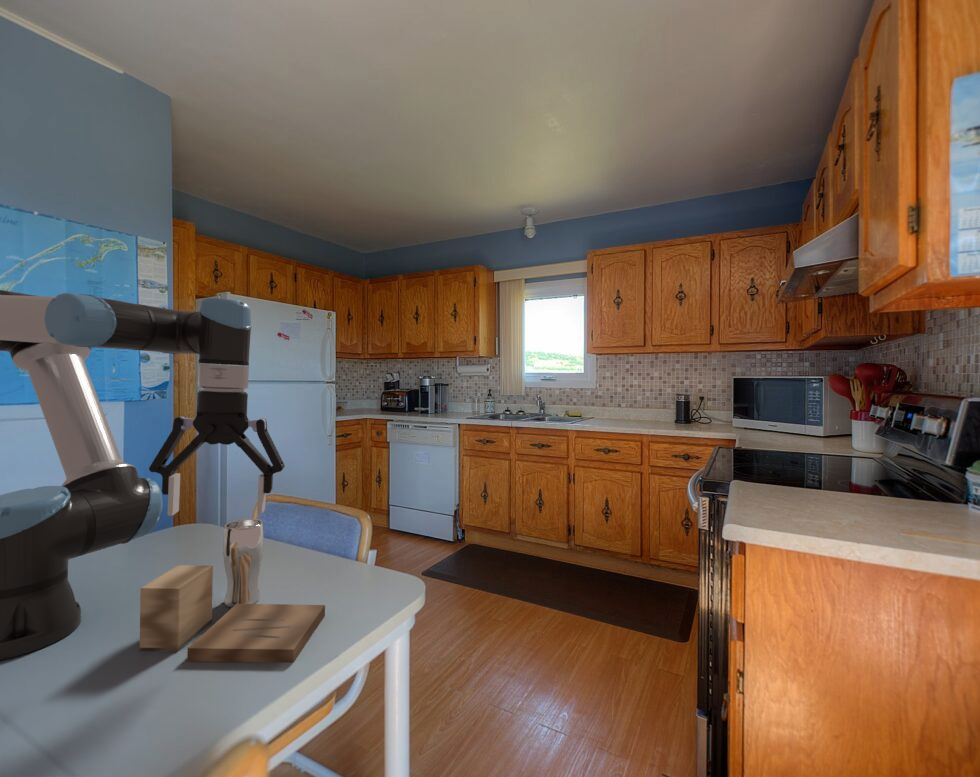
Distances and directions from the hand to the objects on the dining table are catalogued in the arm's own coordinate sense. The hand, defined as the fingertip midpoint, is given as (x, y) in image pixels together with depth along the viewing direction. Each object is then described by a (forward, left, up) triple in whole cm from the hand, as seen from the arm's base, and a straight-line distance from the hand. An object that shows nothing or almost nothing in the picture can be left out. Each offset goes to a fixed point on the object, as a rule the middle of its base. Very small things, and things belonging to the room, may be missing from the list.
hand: (218, 512), depth 79 cm
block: (-5, -3, -20) cm, 21 cm away
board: (+9, -3, -20) cm, 22 cm away
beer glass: (0, +9, -20) cm, 22 cm away
